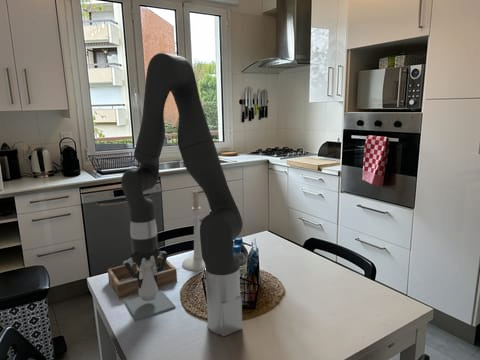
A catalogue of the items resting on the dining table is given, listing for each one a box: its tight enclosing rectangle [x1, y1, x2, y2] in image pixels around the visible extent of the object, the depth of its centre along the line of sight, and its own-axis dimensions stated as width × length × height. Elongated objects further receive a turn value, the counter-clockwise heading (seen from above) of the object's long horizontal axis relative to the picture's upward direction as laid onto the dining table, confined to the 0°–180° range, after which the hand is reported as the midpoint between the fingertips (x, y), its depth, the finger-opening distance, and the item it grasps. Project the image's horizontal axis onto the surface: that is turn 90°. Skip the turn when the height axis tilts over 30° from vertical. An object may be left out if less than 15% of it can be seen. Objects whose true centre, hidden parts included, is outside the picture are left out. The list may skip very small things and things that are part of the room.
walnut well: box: [107, 256, 178, 300], centre depth 122 cm, size 14×20×5 cm
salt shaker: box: [138, 259, 159, 301], centre depth 106 cm, size 6×6×13 cm
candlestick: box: [182, 189, 205, 272], centre depth 134 cm, size 13×13×30 cm
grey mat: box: [124, 289, 176, 322], centre depth 108 cm, size 12×12×1 cm
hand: (148, 286), depth 107 cm, fingers closed on salt shaker, 3 cm apart
